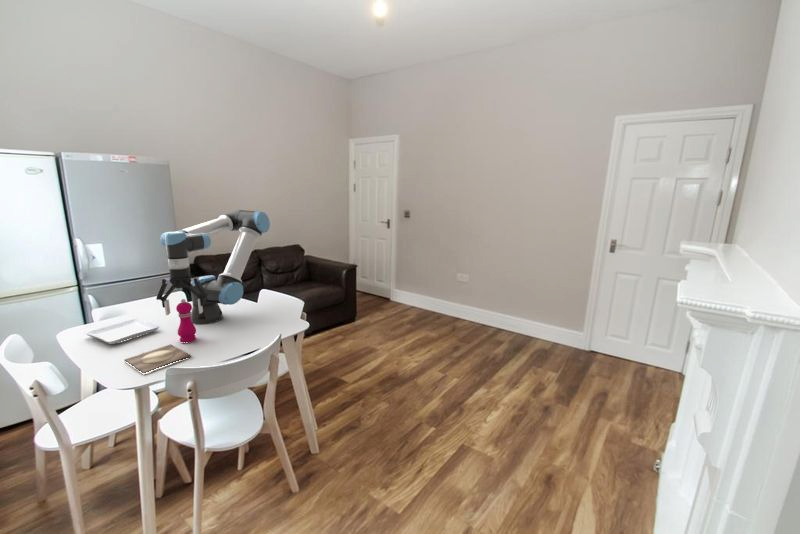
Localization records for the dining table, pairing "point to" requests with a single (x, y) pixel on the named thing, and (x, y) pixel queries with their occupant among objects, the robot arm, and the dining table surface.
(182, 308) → the pepper mill
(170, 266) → the robot arm
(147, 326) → the salad plate
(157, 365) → the walnut stand
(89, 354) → the dining table surface
